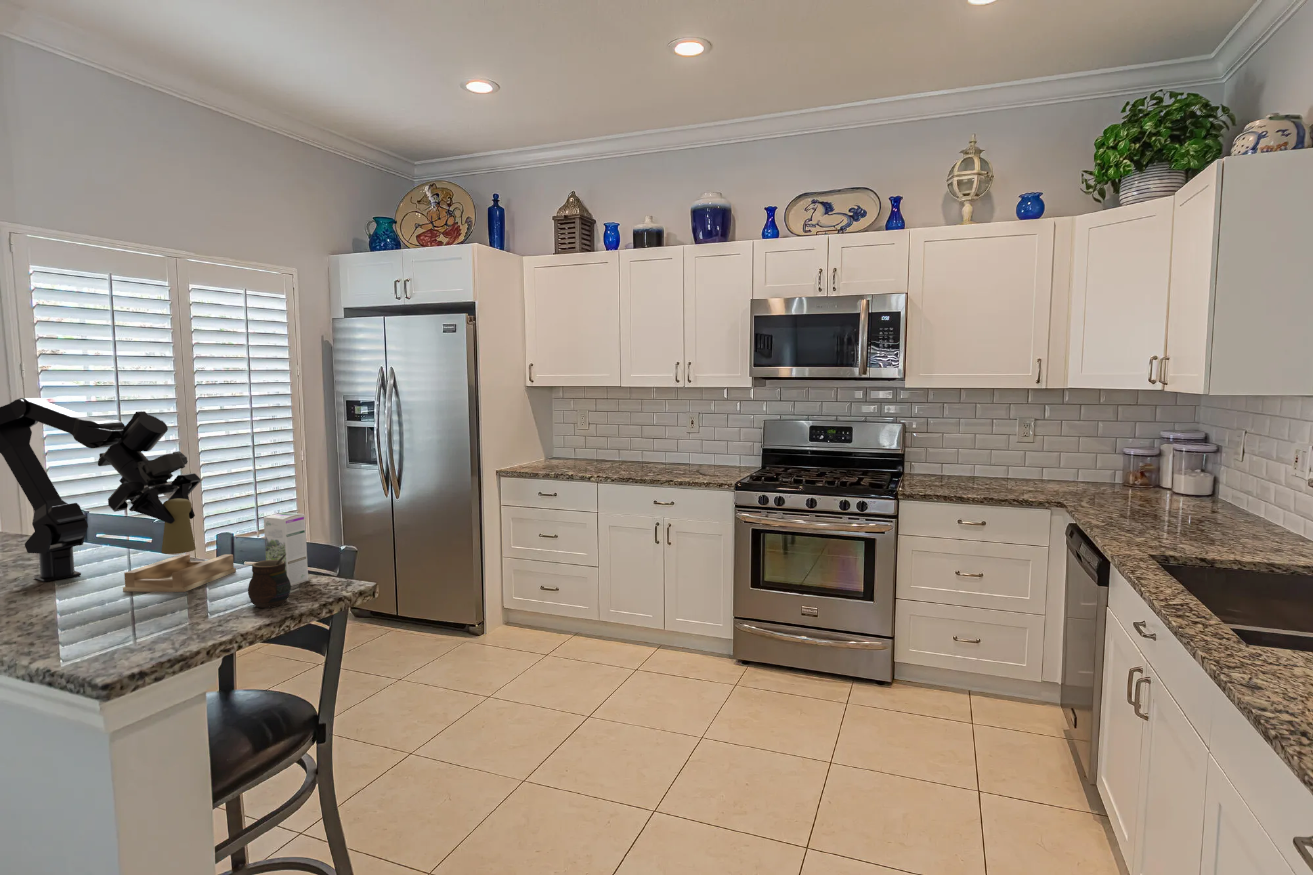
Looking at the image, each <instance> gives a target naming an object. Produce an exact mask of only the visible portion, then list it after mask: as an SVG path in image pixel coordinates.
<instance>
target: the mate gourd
mask: <svg viewBox="0 0 1313 875" xmlns="http://www.w3.org/2000/svg"><path fill="white" fill-rule="evenodd" d="M285 555H286V554H285ZM285 555H283V557H282V558H281V559H279V560H266V559H265V560H260V561H257V562H254V563H253V564H251V572H252V576H251V579H250V581H249V583H248V586H247V587H248V588H247V594H248V597H249V600H250V602H251V604H253V605H254V606H255V607H257V608H262V609H268V608H274V607H279V606H281V605H283V604H284V603H285V602H286V601H287V600H288V599H289V597H290V593H291V591H292V586H291V584H290V580H289V579H288V577H287V574H286V572H285V561H282V560H283V558H284V557H285Z"/></svg>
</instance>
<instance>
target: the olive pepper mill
mask: <svg viewBox="0 0 1313 875" xmlns="http://www.w3.org/2000/svg"><path fill="white" fill-rule="evenodd" d="M189 500H190V499H189ZM189 500H187V499H180V498H179V499H171V500H165V501H163V503H162V504H163V505H164V506H165V507H166V508H167V510H168V511H169V512H170V513H171V515H172V516H173V518H174V519H175V521H174V522H173V523H172V524H170V523H167V522H164V525H163V526H164V527H163V535H162V543H161V544H162V545H161V552H160V553H161V554H165V555H174V554H175V555H176V554H184V553H185V554H186V553H191V552H193V551H195V550H197V549H196V548H197V547H196V544H195V539H194V534H193V529H192V525H191V524H192V523H191V519H190V517H189V513H190V511H191V508H192V509H193V506H192V502H191V501H189Z"/></svg>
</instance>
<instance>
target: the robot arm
mask: <svg viewBox="0 0 1313 875" xmlns="http://www.w3.org/2000/svg"><path fill="white" fill-rule="evenodd" d="M38 423H41V424H43V425H47V426H49V427H51V428H52V427H53V428H55V429H57V430H60V431H63V432H65V433H68V434H69V435H71V436H72V437H73V439H74V440H75V441H76V442H77V443H79V444H80V445H82V446H85V447H86V448H88V449H101V448H103V449H104V448H108V449H107V450H105V452H101V453H99V454H98V455H99V458H98V460H97V466H98V467H106V466H111V467H113V468H114V470H115V471H116V472H117V473H118V474H119V475H120V477H121V478H120V479H119V482H120V484H119V486H118V487H117V488H116V489H115V490H114V491H113V493H111V495H110V496H109V497H108V499H107V502H108V503H107V504H108V505H107V506H109V508H110V509H111V510H112V511H113V512H120V511H126V510H127V509H128V507H129V504H128V503H127V502H126V501H130V504H131V506H130V508H129V509H128V511H129V512H132V513H133V512H135V513H138V514H142V515H145V516H148V517H151V518H153V519H157V520H160V521H162V522H164V523H165V522H167V523H170V524H172V523H173V522H174V521H175V519H174V518H173V516H172V515H171V513H170V512H169V511H168V510H167V508H166V507H165V506H164V505H163V503H162V501H161V500H160V497H159V496H161V495H163V496H165V497H166V498H167V499H168V500H171V499H179V498H180V499H187V500H189V501H190V497H189V495H190V494H191V493H192V491H194V489H195V488H196V487H198V485H199V484H200V483H201V481H202V479H201V478H200V477H199V476H198V475H197V474H196V473H193V472H191V473H190V472H189V473H183V474H178V475H177V476H176V477H175V478H174V480H173V481H172V482H169V481H168V480H171V479H172V477H173V476H174V475H173V473H174V472H176V471H178V470H180V469H184V468H186V465H187V464H188V457H187V456H186V455H185V453H184V454H183V452H181V451H179V450H178V451H177V450H176V451H173V452H172V453H170V454H168V453H167V454H164V455H159V456H158V457H155V458H154V459H148V458H147V456H146V455H144V453H143V452H149V451H151V450H153V448H154V447H155V446H156V445H157V444H158V442H160V440H161V439H162V438H163V437H164V435H165V434H167V432H168V430H169V429H168V428H169V427H168V425H167V424H166V422H165V421H164V420H161V419H160V418H158V417H156V416H154V415H150V414H148V413H147V412H146V411H144V410H143V411H135V413H134V414H133V415H132V417H131V419H130V420H129V421H128V422H127V424H126V425H125V424H124V422H122V421H121V420H118V419H113V418H107V417H96V416H95V417H94V416H88V415H84V414H81V413H79V412H76V411H73V410H71V409H68V408H65V407H63V406H60V405H57V404H54V403H51V402H49V401H47V400H45V399H43V398H41V397H20V398H17V399H15V400H13V401H12V402H9V403H7V404H5V405H1V406H0V454H1V455H2V457H3V459H4V461H5V462H6V465H7V466H8V467H9V469H10V471H11V472H12V475H13V476H14V478H15V479H16V481H17V483H18V484H19V487H20V488H21V490H22V492H23V494H24V495H25V497H26V498H27V500H28V502H29V504H30V506H31V507H32V508H33V510H34V512H33V513H34V514H33V517H32V522H31V523H32V524H31V525H32V527H33V530H34V531H33V533H32V534H31V535H30V536H29V538H28V539H27V540H26V541H25V542H24V547H25V550H26V553H27V554H38V561H39V574H36V575H34V576H33V578H34V579H36V580H38V581H41V582H50V581H55V580H62V579H68V578H72V577H77V576H78V577H79V576H81V575H82V572H80V571H77V570H75V562H74V560H75V559H74V558H75V557H74V547H78V546H80V547H81V546H83V545H84V542H85V538H86V534H87V531H88V528H89V524H88V522H87V519H88V516H86V515H85V513H84V512H83V511H82V507H81V506H80V504H78V503H77V502H72V503H71V502H70V503H68V502H66V501H64V500H63V498H62V497H61V496H60V494H59V491H58V490H57V489H56V488H55V486H54V484H53V482H52V480H51V478H50V476H49V475H48V473H47V472H46V470H45V468H44V467H43V465H42V463H41V462H40V460H39V458H38V457H37V456H38V455H36V453H35V451H34V450H33V448H32V446H31V444H30V443H31V440H32V434H33V431H32V429H31V428H32V427H34V426H36V425H37V424H38ZM190 502H191V501H190ZM195 516H196V515H195V511H194V509H193V507H192V508H191V511H190V513H189V517H190V520H192V519H194V517H195Z"/></svg>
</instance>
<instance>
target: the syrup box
mask: <svg viewBox="0 0 1313 875" xmlns="http://www.w3.org/2000/svg"><path fill="white" fill-rule="evenodd" d="M306 528H307V527H306V514H304V513H296V512H278V513H277V512H276V513H273V514H269V515H267V516H263V531H264V532H263V534H264V547H265V550H264V551H265V560H279V559H281V558H282V557H283V555H285V554H286V555H285V557H284V558H283V560H282V561H285V572H286V574H287V577H288V579H289V580H290V584H291V587H293V586H296V585H299V584H302V583H305V582H308V581H309V571H308V569H309V568H308V552H307V551H308V550H307V549H308V548H307V532H306V531H307V530H306Z"/></svg>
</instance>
